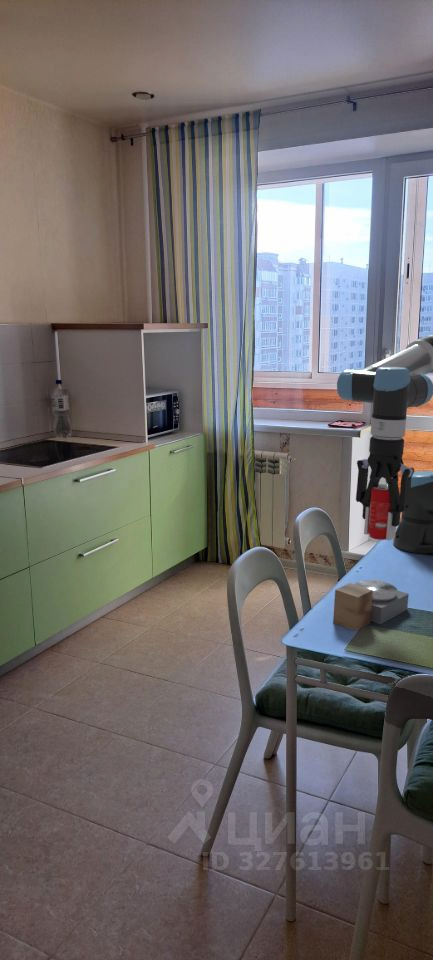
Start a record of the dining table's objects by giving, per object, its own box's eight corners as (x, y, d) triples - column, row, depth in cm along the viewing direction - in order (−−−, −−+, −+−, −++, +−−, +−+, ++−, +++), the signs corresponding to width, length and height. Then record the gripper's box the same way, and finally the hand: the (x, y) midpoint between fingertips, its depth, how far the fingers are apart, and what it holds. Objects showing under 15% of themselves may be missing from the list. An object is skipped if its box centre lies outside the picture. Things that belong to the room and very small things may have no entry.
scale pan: (368, 582, 172) (368, 577, 172) (404, 594, 166) (405, 588, 165) (345, 593, 165) (345, 587, 165) (382, 606, 159) (382, 599, 158)
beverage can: (365, 538, 161) (369, 487, 159) (371, 532, 166) (375, 483, 163) (387, 541, 159) (391, 490, 156) (393, 535, 163) (397, 485, 161)
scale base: (367, 596, 174) (368, 581, 174) (407, 609, 167) (408, 593, 166) (338, 610, 166) (339, 594, 165) (379, 625, 158) (380, 608, 157)
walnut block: (348, 615, 163) (350, 582, 161) (370, 623, 159) (372, 590, 157) (333, 622, 159) (335, 589, 157) (355, 631, 155) (358, 597, 153)
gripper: (343, 433, 161) (337, 530, 166) (415, 444, 148) (406, 548, 154) (361, 430, 166) (355, 524, 171) (432, 440, 154) (423, 541, 159)
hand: (379, 535), depth 162 cm, fingers closed on beverage can, 5 cm apart
